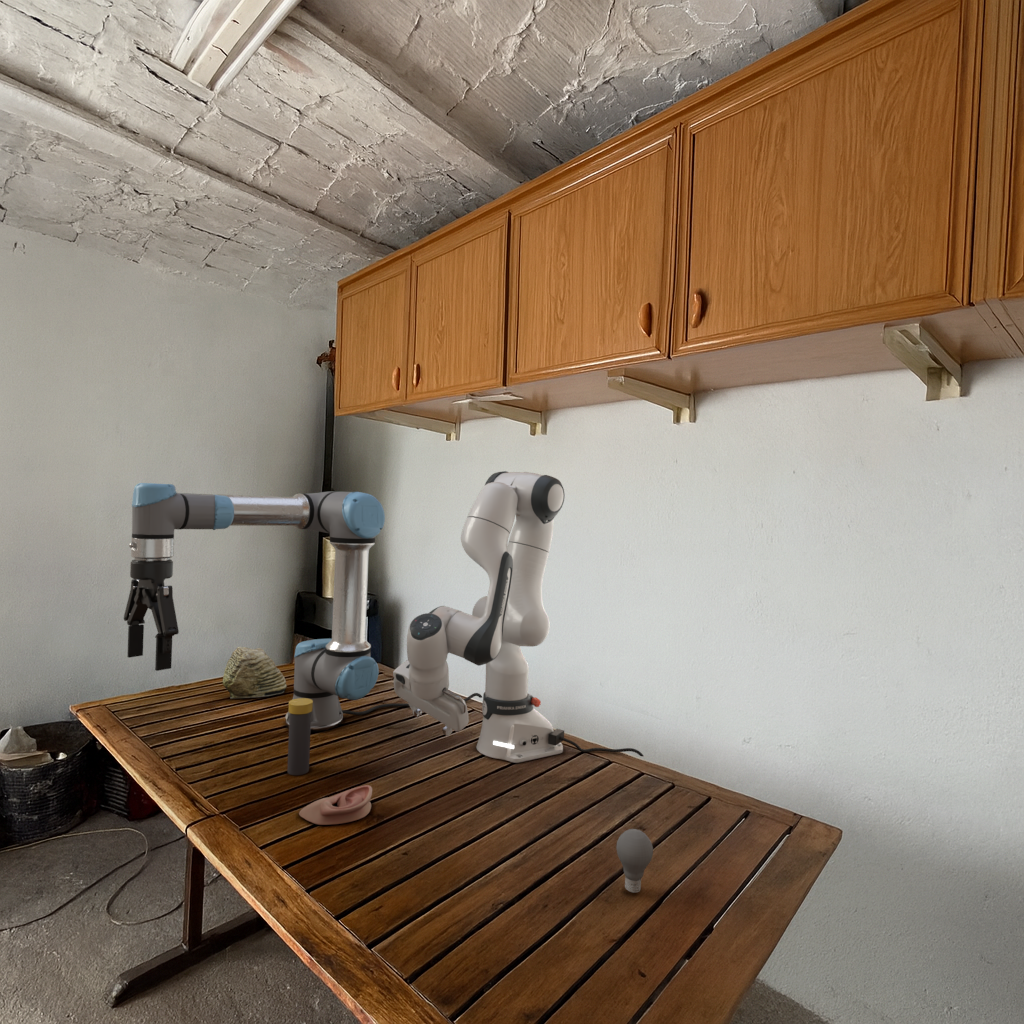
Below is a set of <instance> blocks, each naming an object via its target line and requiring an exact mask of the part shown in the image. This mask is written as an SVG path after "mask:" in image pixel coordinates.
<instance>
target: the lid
mask: <svg viewBox="0 0 1024 1024" xmlns="http://www.w3.org/2000/svg"><path fill="white" fill-rule="evenodd" d="M292 699H293V698H292ZM292 699H290V700H288V711H289V713H291V714H306V713H309V712H311V711H312V710H313V700H311V699H308V698H298V699H293V700H292ZM288 711H287V712H288Z"/></svg>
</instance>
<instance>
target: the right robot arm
mask: <svg viewBox="0 0 1024 1024" xmlns="http://www.w3.org/2000/svg"><path fill="white" fill-rule="evenodd" d="M565 495H566V493H565V489H564V485H563V484H562V482H561V481H560V480H559V479H558V478H556V477H554V476H552V475H548V474H539V473H535V472H528V471H522V472H520V471H510V472H509V471H506V470H505V471H497V472H494V473H492V474H490V476H489V477H488V479H487V480H486V481H485V483H484V486H483V487H482V488H481V490H480V491H479V493H478V494H477V495H476V498H475V499H474V501H473V503H472V505H471V508H470V510H469V512H468V514H467V516H466V519H465V521H464V524H463V526H462V530H461V535H460V542H461V546H462V548H463V551H464V552H465V553H466V555H467V556H468V557H469V558H470V559H471V560H472V561H474V562H475V563H476V564H477V565H478V566H480V567H481V568H482V570H484V571H485V572H486V574H487V575H488V579H489V585H488V591H487V595H485V596H483V597H481V598H479V599H478V600H477V601H476V602H475V604H474V606H473V608H472V612H471V614H469V613H466V612H464V611H462V610H459V609H456V608H453V607H450V606H445V605H440V606H437V607H436V608H433V609H432V610H430V611H429V612H426V613H421V614H419V615H417V616H416V617H414V618H413V619H412V620H411V622H410V623H409V626H408V629H407V635H406V656H407V657H406V658H407V659H406V660H405V661H404V662H402V663H400V664H399V665H398V666H397V667H396V668H395V669H394V670H393V671H392V676H393V689H394V692H395V694H396V695H397V697H398V698H400V699H402V700H403V701H405V702H407V703H408V704H409V706H410V707H409V708H410V709H411V711H412V716H414V717H415V718H417V719H418V718H420V717H421V716H422V715H423V713H425V714H426V715H428V716H429V717H431V718H433V719H435V720H436V721H438V722H440V723H441V724H443V725H445V726H444V727H442V729H441V730H442V734H443V735H445V736H447V737H450V736H451V734H452V733H453V731H455V732H457V733H459V732H461V731H462V730H464V729H465V728H466V726H468V724H469V722H470V718H469V717H470V716H469V711H468V705H467V703H466V702H465V701H464V699H465V698H463V697H461V696H460V695H459V694H457V693H455V692H453V691H451V690H450V689H449V687H450V673H449V664H448V660H447V659H448V655H449V654H451V655H454V656H456V657H459V658H462V659H464V660H466V661H467V662H469V663H471V664H473V665H476V666H483V665H485V683H484V684H485V685H484V686H485V688H484V692H483V694H482V702H481V703H482V704H481V712H482V722H481V727H480V728H481V729H480V733H479V737H478V739H477V743H476V746H475V749H476V751H478V752H479V753H480V754H482V755H483V756H486V757H489V758H493V759H498V760H503V761H508V762H510V763H515V764H518V763H523V762H528V761H532V760H537V759H541V758H546V757H550V756H555V755H559V754H563V752H564V745H563V742H565V743H567V744H570V745H572V746H574V747H575V748H576V749H577V750H578V751H579V752H580V753H591V752H604V753H625V752H632V753H635V754H636V755H638V756H640V757H644V754H643V753H642V752H641V751H640V750H638V749H636V748H633V747H632V748H631V747H623V748H604V747H593V748H582V747H581V746H580V745H578V743H576V742H575V741H573V740H570V739H569V738H566V737H565V729H560V728H556V729H554V727H553V724H552V723H551V721H549V720H548V719H547V718H546V717H545V716H544V715H543V714H542V713H541V712H539V711H538V710H537V709H536V708H539V707H540V706H541V704H542V702H541V699H539V698H538V697H535V696H533V695H532V694H530V693H528V692H529V674H530V673H529V671H530V670H529V669H530V667H529V663H528V660H527V659H526V657H525V656H524V654H523V652H522V651H523V650H522V648H521V647H528V648H529V647H538V646H540V645H541V644H543V643H544V642H545V641H546V639H547V637H548V635H549V633H550V629H551V623H550V617H549V615H548V613H547V611H546V609H545V607H544V600H543V581H544V576H545V571H546V567H547V563H548V559H549V555H550V550H551V547H552V541H553V534H554V524H555V521H554V519H555V518H556V516H558V514H559V513H560V511H561V509H562V508H563V505H564V502H565ZM514 522H515V523H514ZM534 707H535V708H534Z"/></svg>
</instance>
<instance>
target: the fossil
mask: <svg viewBox="0 0 1024 1024" xmlns="http://www.w3.org/2000/svg"><path fill="white" fill-rule="evenodd" d="M222 676H223V677H222V685H223V687H224V688H225V690H226V691H228V693H229V698H230V699H250V698H264V697H271V696H275V695H281V694H284V693H285V691H286V689H287V687H288V686H287V680H286V678H285V676H284V674H283V673H282V672H281V669H279V668H278V667H277V665H276V663H275V662H274V660H273V659H272V658H271V657H270V656H269V655H268V654H267V653H266V652H265V650H264V649H263V648H260V647H258V648H251V647H247V646H246V647H245V646H238V647H237V648H236V649H235V650H233V651H232V653H231V656H230V657H229V659H228V660H227V663H226V666H225V668H224V671H223V675H222Z"/></svg>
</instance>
